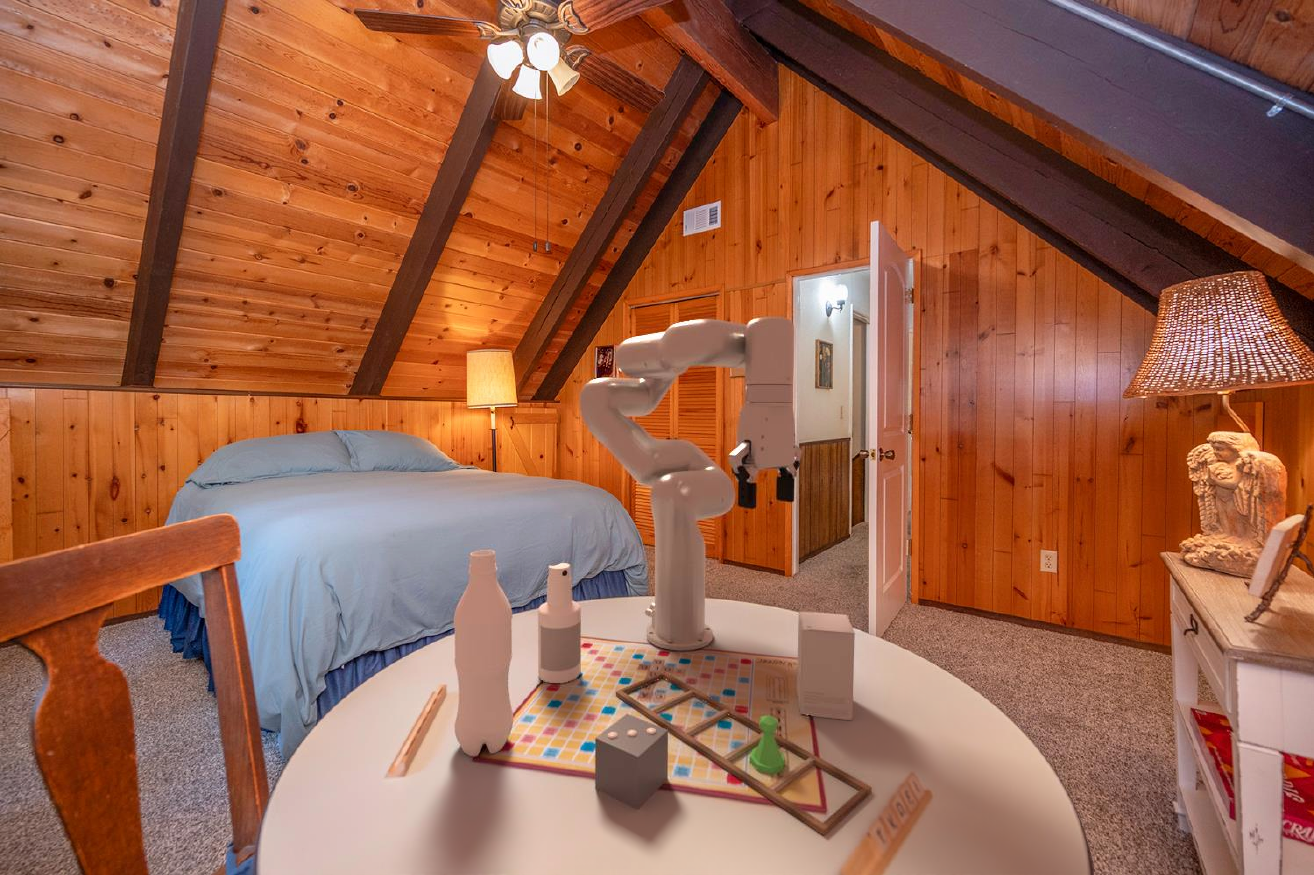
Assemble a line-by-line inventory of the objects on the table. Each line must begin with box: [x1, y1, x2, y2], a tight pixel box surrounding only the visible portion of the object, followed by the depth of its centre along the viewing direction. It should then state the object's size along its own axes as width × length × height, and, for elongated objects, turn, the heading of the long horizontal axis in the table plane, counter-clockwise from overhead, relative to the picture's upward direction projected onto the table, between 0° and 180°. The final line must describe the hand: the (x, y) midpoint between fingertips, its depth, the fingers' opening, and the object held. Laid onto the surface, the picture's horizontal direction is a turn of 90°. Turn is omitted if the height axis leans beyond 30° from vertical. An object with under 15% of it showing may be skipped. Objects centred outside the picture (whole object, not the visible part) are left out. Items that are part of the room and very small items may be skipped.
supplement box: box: [796, 611, 856, 721], centre depth 80 cm, size 7×7×13 cm
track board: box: [615, 671, 873, 837], centre depth 72 cm, size 36×10×1 cm, turn 41°
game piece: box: [749, 714, 786, 775], centre depth 67 cm, size 4×4×6 cm
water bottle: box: [453, 549, 514, 757], centre depth 69 cm, size 7×7×25 cm
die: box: [594, 713, 669, 811], centre depth 63 cm, size 6×6×6 cm
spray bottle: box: [537, 562, 582, 684], centre depth 88 cm, size 7×7×18 cm
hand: (766, 504), depth 87 cm, fingers open, 9 cm apart
